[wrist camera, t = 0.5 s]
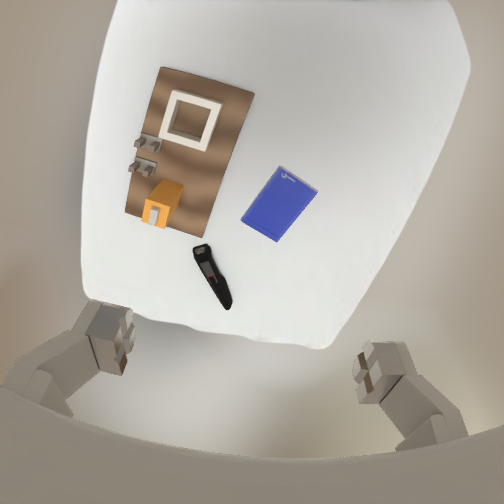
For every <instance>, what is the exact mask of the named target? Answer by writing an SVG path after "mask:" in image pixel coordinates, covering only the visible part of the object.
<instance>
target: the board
mask: <svg viewBox="0 0 504 504" xmlns="http://www.w3.org/2000/svg"><path fill="white" fill-rule="evenodd" d="M176 89H178V90H182V91H185V92H189V93H193V94H196V95H199V96H203V97H206V98H209V99H213V100H216V101H219V102H222V103H224V104H223V107H222V110H221V112H220V115H219V118H218V121H217V123H216V126H215V129H214V132H213V135H212V138H211V141H210V144H209V146H208V148H207V150H206V151H205V152H204V151H201V150H198V149H195V148H191V147H188V146H185V145H182V144H179V143H175V142H172V141H169V140H165V139H162V138H159V137H158V136H159V132H160V129H161V125H162V122H163V118H164V115H165V112H166V108H167V105H168V102H169V99H170V96H171V92H172V90H176ZM253 96H254V93H251V92H248V91H245V90H242V89H239V88H236V87H233V86H230V85H227V84H223V83H220V82H217V81H214V80H210V79H207V78H203V77H200V76H196V75H192V74H189V73H185V72H181V71H177V70H173V69H169V68H165V67H160V70H159V73H158V76H157V79H156V83H155V86H154V89H153V92H152V96H151V99H150V102H149V106H148V109H147V113H146V117H145V120H144V124H143V128H142V132H141V136H140V138H139V139H137V140H136V141H135V143H134V147H137V153H136V157H135V161H134V163H133V164H131V165H130V166H129V170H128V171H129V172H132V176H131V181H130V186H129V191H128V196H127V202H126V208H125V213H128V214H131V215H134V216H137V217H140V218H142V215H143V210H144V205H145V201H146V198H147V197H148V196H149V195H150V193H151V192H152V191H153V190H154V189H155V188H156V186H157V185H158V184H159V183H160V182H161V181H162V180H163V179H164V180H167V181H170V182H173V183H176V184H180V185H183V186H184V187H183V191H182V194H181V198H180V201H179V205H178V207H177V209H176V210H175V212H174V214H173V215H172V217H171V219H170V220H169V222H168V224H167V227H170V228H173V229H176V230H179V231H182V232H185V233H188V234H191V235H194V236H197V237H200V238H202V237H203V234H204V231H205V228H206V225H207V222H208V219H209V216H210V213H211V210H212V207H213V204H214V201H215V198H216V195H217V193H218V190H219V187H220V184H221V181H222V178H223V176H224V173H225V170H226V167H227V165H228V162H229V159H230V156H231V154H232V151H233V148H234V146H235V143H236V140H237V138H238V135H239V132H240V130H241V127H242V124H243V122H244V119H245V117H246V114H247V112H248V109H249V107H250V104H251V101H252V99H253ZM210 112H211V109H208V108H205V107H202V106H199V105H195V104H192V103H188V102H185V101H181V102H180V105H179V108H178V112H177V115H176V118H175V121H174V125H173V128H172V129H173V130H177V131H180V132H183V133H187V134H190V135H193V136H196V137H199V138H202V135H203V132H204V129H205V126H206V123H207V120H208V118H209V115H210Z"/></svg>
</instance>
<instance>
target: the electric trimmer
mask: <svg viewBox="0 0 504 504" xmlns="http://www.w3.org/2000/svg"><path fill="white" fill-rule="evenodd" d="M193 254H194V259H195V260H196V262H197V264H198V266H199V268H200V269H201V271H202V273H203V274H204V276H205V278H206V280H207V281H208V283H209V285H210V286H211V288H212V290H213V291H214V293H215V294H216V296H217V298H218V299H219V301H220V302H221V304H222V305H223V307H224V308H225V309H226V310H229V309H230V308H231V305H232V298H231V295H230V292H229V289H228V286H227V283H226V281H225V279H224V278H223V277H222V276H220V274H219V272H218V270H217V268H216V266H215V264H214V262H213V260H212V257H211V249H210V246H208V245H207V244H203V245H200V246H196V247H194V248H193Z"/></svg>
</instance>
